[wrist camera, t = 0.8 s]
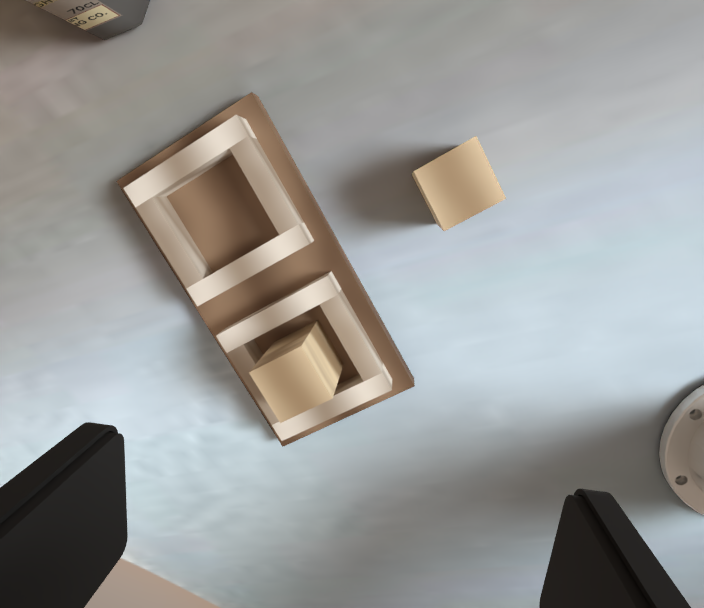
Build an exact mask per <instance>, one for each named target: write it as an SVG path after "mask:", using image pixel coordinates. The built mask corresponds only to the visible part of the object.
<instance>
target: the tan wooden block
mask: <svg viewBox="0 0 704 608" xmlns="http://www.w3.org/2000/svg"><path fill="white" fill-rule="evenodd" d="M412 176H413V178H414V180H415V182H416V184H417V186H418V188H419V190H420V192H421V194H422V196H423V198H424V200H425V202H426V204H427V206H428V208H429V210H430V212H431V213H432V215H433V217H434V219H435V221H436V223H437V225H438V226H439V227H440V228H441V229H442V230H443V231H446V230H448V229H449V228H451V227H453V226H455V225H457V224H459V223H461V222H463V221H465V220H466V219H468V218H470V217H472V216H474V215H476V214H478V213H480V212H482V211H483V210H485V209H487V208H489V207H491V206H493V205H495V204H497V203H499V202H500V201H502V200H504V199H506V197H505V195H504V193H503V191H502V189H501V187H500V185H499V183H498V181H497V178H496V176H495V174H494V172H493V170H492V168H491V166H490V164H489V162H488V160H487V158H486V155H485V153H484V151H483V149H482V147H481V145H480V143H479V141H478V139H477V137H476V136H475V137H473V138H472V139H470V140H468V141H466V142H465V143H463V144H461V145H459V146H458V147H456V148H454V149H452V150H450V151H449V152H447V153H445V154H443V155H442V156H440V157H438V158H436V159H435V160H433V161H431V162H429V163H428V164H426V165H424V166H422V167H420V168H419V169H417V170H415V171H414V172H413V173H412Z"/></svg>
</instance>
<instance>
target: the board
mask: <svg viewBox="0 0 704 608" xmlns="http://www.w3.org/2000/svg"><path fill="white" fill-rule="evenodd" d="M116 182H117V183H118V185H119V186H120V188H121V190H122V191H123V193H124V194H125V196H126V198H127V199H128V201H129V202H130V204H131V206H132V207H133V209H134V210H135V212H136V214H137V215H138V217H139V218H140V220H141V221H142V223H143V225H144V226H145V228H146V229H147V231H148V233H149V234H150V236H151V237H152V239H153V241H154V242H155V244H156V245H157V247H158V249H159V250H160V252H161V253H162V255H163V257H164V258H165V260H166V261H167V263H168V265H169V266H170V268H171V269H172V271H173V273H174V274H175V276H176V277H177V279H178V280H179V282H180V284H181V285H182V287H183V288H184V290H185V292H186V293H187V295H188V296H189V298H190V300H191V301H192V303H193V304H194V306H195V308H196V309H197V311H198V312H199V314H200V316H201V317H202V319H203V320H204V322H205V324H206V325H207V327H208V328H209V330H210V332H211V333H212V335H213V336H214V338H215V340H216V341H217V343H218V344H219V346H220V347H221V349H222V351H223V352H224V354H225V355H226V357H227V359H228V360H229V362H230V363H231V365H232V367H233V368H234V370H235V371H236V373H237V375H238V376H239V378H240V379H241V381H242V383H243V384H244V386H245V387H246V389H247V391H248V392H249V394H250V395H251V397H252V399H253V400H254V402H255V403H256V405H257V407H258V408H259V410H260V411H261V413H262V414H263V416H264V418H265V419H266V421H267V422H268V424H269V426H270V427H271V429H272V430H273V432H274V434H275V435H276V437H277V438H278V440H279V442H280V443H281V445H282V446H285V445H287V444H290V443H292V442H294V441H296V440H298V439H300V438H303V437H305V436H307V435H309V434H311V433H313V432H316V431H318V430H320V429H322V428H324V427H327V426H329V425H331V424H333V423H335V422H337V421H340V420H342V419H344V418H346V417H348V416H350V415H353V414H355V413H357V412H359V411H361V410H363V409H366V408H368V407H370V406H372V405H374V404H377V403H379V402H381V401H383V400H385V399H387V398H390V397H392V396H394V395H396V394H398V393H400V392H403V391H405V390H407V389H409V388H411V387H414V378H413V376H412V374H411V372H410V370H409V368H408V367H407V365H406V363H405V361H404V359H403V358H402V356H401V354H400V352H399V350H398V349H397V347H396V345H395V343H394V341H393V340H392V338H391V336H390V334H389V332H388V330H387V329H386V327H385V325H384V323H383V321H382V320H381V318H380V316H379V314H378V312H377V311H376V309H375V307H374V305H373V303H372V302H371V300H370V298H369V296H368V294H367V292H366V291H365V289H364V287H363V285H362V283H361V282H360V280H359V278H358V276H357V274H356V273H355V271H354V269H353V267H352V265H351V264H350V262H349V260H348V258H347V256H346V254H345V253H344V251H343V249H342V247H341V245H340V244H339V242H338V240H337V238H336V236H335V235H334V233H333V231H332V229H331V227H330V226H329V224H328V222H327V220H326V218H325V217H324V215H323V213H322V211H321V209H320V207H319V206H318V204H317V202H316V200H315V198H314V197H313V195H312V193H311V191H310V189H309V188H308V186H307V184H306V182H305V180H304V179H303V177H302V175H301V173H300V171H299V169H298V168H297V166H296V164H295V162H294V160H293V159H292V157H291V155H290V153H289V151H288V150H287V148H286V146H285V144H284V142H283V141H282V139H281V137H280V135H279V133H278V131H277V130H276V128H275V126H274V124H273V122H272V121H271V119H270V117H269V115H268V113H267V112H266V110H265V108H264V106H263V104H262V103H261V101H260V99H259V97H258V96H257V95H255V94H253V93H252V92H251V93H250V94H248V95H247V96H245V97H244V98H242V99H241V100H239V101H238V102H236V103H235V104H233V105H232V106H230V107H228V108H227V109H225V110H224V111H222V112H221V113H219V114H218V115H216V116H215V117H213V118H212V119H210V120H209V121H207V122H206V123H204V124H203V125H201V126H200V127H198V128H197V129H195V130H194V131H192V132H190V133H189V134H187V135H186V136H184V137H183V138H181V139H180V140H178V141H177V142H175V143H174V144H172V145H171V146H169V147H168V148H166V149H165V150H163V151H162V152H160V153H159V154H157V155H155V156H154V157H152V158H151V159H149V160H148V161H146V162H145V163H143V164H142V165H140V166H139V167H137V168H136V169H134V170H133V171H131V172H130V173H128V174H127V175H125V176H124V177H122V178H121V179H119V180H117V181H116Z"/></svg>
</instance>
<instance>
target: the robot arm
mask: <svg viewBox="0 0 704 608" xmlns="http://www.w3.org/2000/svg"><path fill="white" fill-rule="evenodd" d="M659 457H660V464H661V469H662V471H663V474H664V476H665V479H666V481H667V482H668V484H669V485H670V487H671V488H672V490H673V491H674V492H675V493H676V494H677V495H678V496H679V497H680V498H681V499H682V501H683V502H684V503H685V504H687V505H688V506H689V507H691V508H692V509H693V510H695V511H696V512H698V513H700V514H702V515H704V385H702V386H701V387H699V388H697V389H696V390H694V391H693V392H692V393H691V394H690V395H688V396H687V397H686V398H685V399H684V400H683V401H682V402H681V403H680V404H679V405H678V407H677V408H676V409H675V410H674V411H673V413H672V414H671V416H670V418H669V420H668V421H667V423H666V425H665V427H664V430H663V433H662V437H661V440H660V449H659ZM126 543H127V510H126V482H125V453H124V437H123V435H122V434H118V431H117V429H116V427H114V426H112V425H104V424H97V423H84V424H82V425H81V426H80V427H78V428H77V429H76V430H74V431H73V432H72V433H71V434H69V435H68V436H67V437H65V438H64V439H63V440H62V441H60V442H59V443H58V444H56V445H55V446H54V447H52V448H51V449H50V450H49V451H47V452H46V453H45V454H43V455H42V456H41V457H40V458H38V459H37V460H36V461H34V462H33V463H32V464H31V465H29V466H28V467H27V468H25V469H24V470H23V471H21V472H20V473H19V474H18V475H16V476H15V477H14V478H12V479H11V480H10V481H9V482H7V483H6V484H5V485H3V486H2V487H1V488H0V608H84V607H85V605H86V604H87V603H88V601H89V600H90V598H91V597H92V596H93V595H94V593H95V592H96V590H97V589H98V587H99V586H100V585H101V583H102V582H103V581H104V579H105V578H106V577H107V575H108V574H109V573H110V571H111V570H112V569H113V567H114V566H115V564H116V563H117V561H118V560H119V559H120V557H121V556H122V554H123V552H124V550H125V547H126ZM540 608H691V607H690V606H689V604H688V603H687V601H686V600H685V598H684V597H683V596H682V594H681V593H680V591H679V590H678V588H677V587H676V586H675V584H674V583H673V581H672V580H671V579H670V577H669V576H668V574H667V573H666V571H665V570H664V569H663V567H662V566H661V564H660V563H659V561H658V560H657V559H656V557H655V556H654V554H653V553H652V551H651V550H650V549H649V547H648V546H647V544H646V543H645V541H644V540H643V539H642V537H641V536H640V534H639V533H638V532H637V530H636V529H635V527H634V526H633V524H632V523H631V522H630V520H629V519H628V517H627V516H626V514H625V513H624V512H623V510H622V509H621V507H620V506H619V504H618V503H617V502H616V500H615V499H614V497H613V496H612V495H611V494H610V493H607V492H600V491H593V490H586V489H578V490H576V492H575V493H574V495H568V496H567V497H566V499H565V502H564V506H563V510H562V514H561V518H560V522H559V526H558V530H557V534H556V537H555V541H554V545H553V549H552V553H551V557H550V561H549V565H548V569H547V573H546V577H545V581H544V585H543V589H542V593H541V597H540Z"/></svg>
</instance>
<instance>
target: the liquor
mask: <svg viewBox="0 0 704 608" xmlns="http://www.w3.org/2000/svg"><path fill="white" fill-rule="evenodd" d="M26 1H28V2H30V3H32V4H34V5H36V6H38V7H40V8H42V9H44V10H46V11H48V12H50V13H52V14H54V15H56V16H58V17H60V18H62V19H64V20H66V21H68V22H70V23H72V24H74V25H76V26H78V27H80V28H82V29H84V30H86V31H88V32H90V33H92V34H94V35H96V36H98V37H100V38H102V39H104V40H106V39H108V38H110V37H113V36H115V35H118V34H120V33H122V32H125V31H127V30H130V29H132V28H134V27H137V26H139V25H141V24H142V22H143V19H144V16H145V13H146V10H147V8H148V5H149V2H150V0H26Z"/></svg>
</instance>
